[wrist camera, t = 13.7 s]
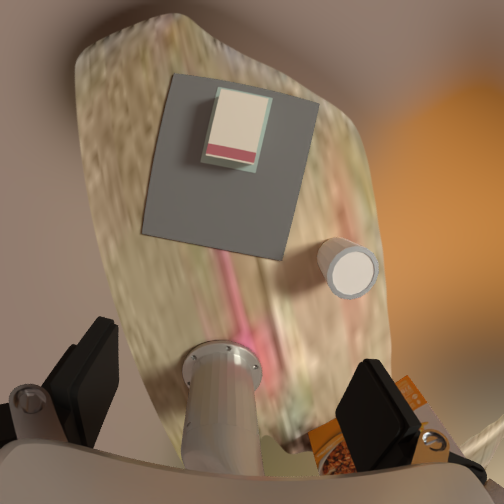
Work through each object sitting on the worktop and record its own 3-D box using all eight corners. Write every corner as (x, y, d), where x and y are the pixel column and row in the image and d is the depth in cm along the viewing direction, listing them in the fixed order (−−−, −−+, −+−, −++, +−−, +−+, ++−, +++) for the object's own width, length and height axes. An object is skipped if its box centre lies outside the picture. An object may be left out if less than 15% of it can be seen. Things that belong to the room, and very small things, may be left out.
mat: (281, 260, 42) (282, 261, 41) (142, 232, 39) (141, 233, 39) (318, 104, 36) (319, 103, 35) (174, 74, 34) (173, 73, 33)
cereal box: (407, 374, 50) (484, 487, 21) (413, 391, 52) (482, 496, 23) (307, 432, 52) (342, 561, 24) (320, 444, 54) (355, 563, 25)
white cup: (366, 255, 42) (388, 272, 36) (333, 288, 43) (349, 310, 37) (338, 222, 41) (358, 234, 34) (302, 257, 42) (315, 275, 35)
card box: (221, 95, 34) (220, 88, 31) (265, 104, 35) (268, 98, 32) (207, 155, 37) (205, 155, 33) (251, 164, 37) (253, 164, 34)
